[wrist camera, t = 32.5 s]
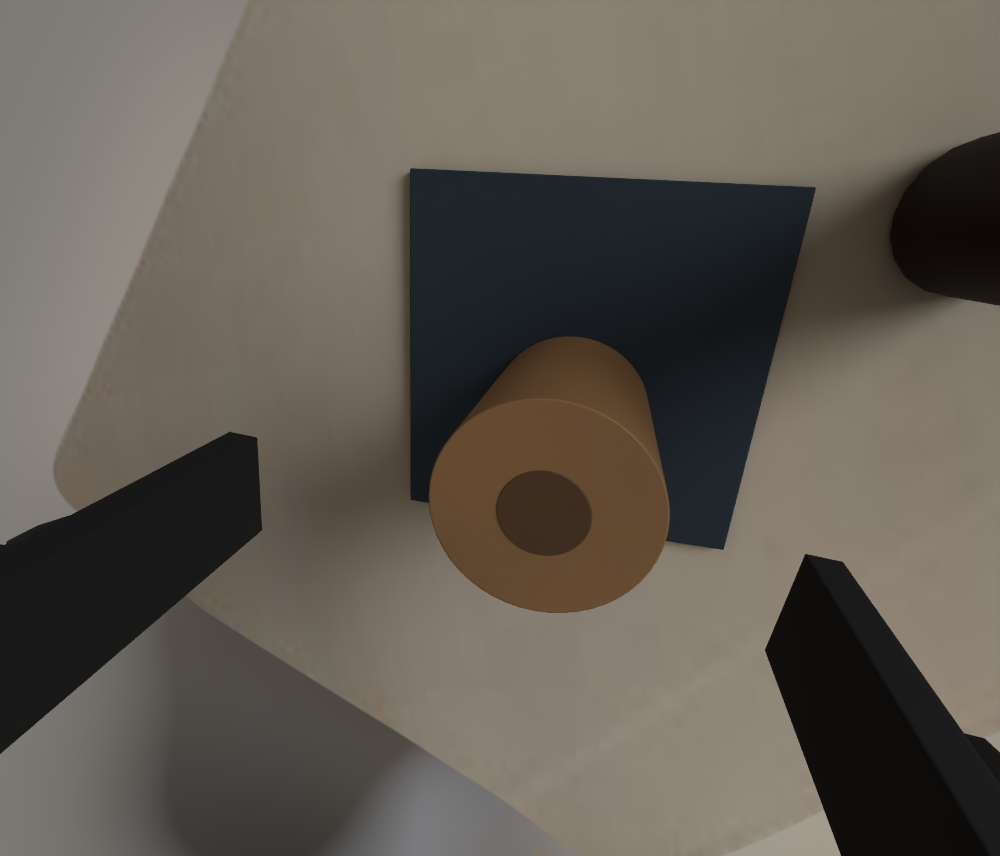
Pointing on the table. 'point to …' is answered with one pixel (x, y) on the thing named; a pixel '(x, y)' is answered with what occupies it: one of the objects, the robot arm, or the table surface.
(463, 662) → the table surface
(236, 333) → the table surface
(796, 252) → the slate mat
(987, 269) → the bottle
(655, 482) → the paper roll
